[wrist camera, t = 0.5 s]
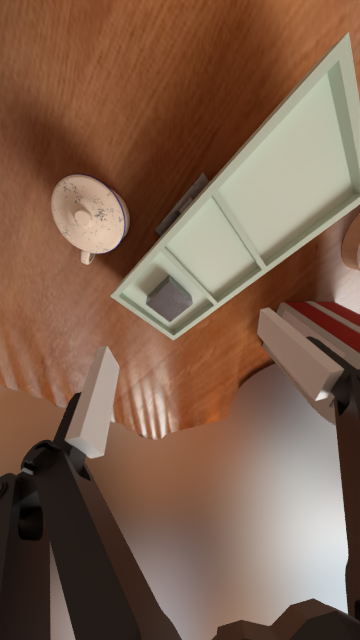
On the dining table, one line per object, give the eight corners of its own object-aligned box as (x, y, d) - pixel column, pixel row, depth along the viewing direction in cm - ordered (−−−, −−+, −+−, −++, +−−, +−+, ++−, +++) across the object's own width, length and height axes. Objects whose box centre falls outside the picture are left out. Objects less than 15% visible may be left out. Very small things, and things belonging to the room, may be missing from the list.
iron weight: (147, 295, 32) (145, 304, 30) (169, 274, 30) (169, 281, 27) (169, 313, 35) (169, 322, 32) (191, 295, 32) (193, 303, 30)
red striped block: (281, 301, 45) (410, 390, 22) (336, 301, 48) (500, 380, 25) (260, 347, 54) (339, 444, 31) (308, 345, 56) (412, 433, 34)
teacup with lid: (82, 170, 26) (41, 145, 16) (139, 203, 29) (132, 199, 20) (68, 245, 31) (31, 260, 21) (118, 266, 34) (104, 288, 25)
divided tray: (114, 289, 32) (110, 296, 30) (325, 52, 17) (348, 31, 15) (173, 332, 40) (173, 340, 37) (355, 193, 25) (373, 194, 22)
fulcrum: (154, 229, 32) (155, 233, 26) (202, 173, 28) (214, 163, 23) (211, 290, 40) (220, 302, 35) (253, 252, 37) (271, 259, 31)
